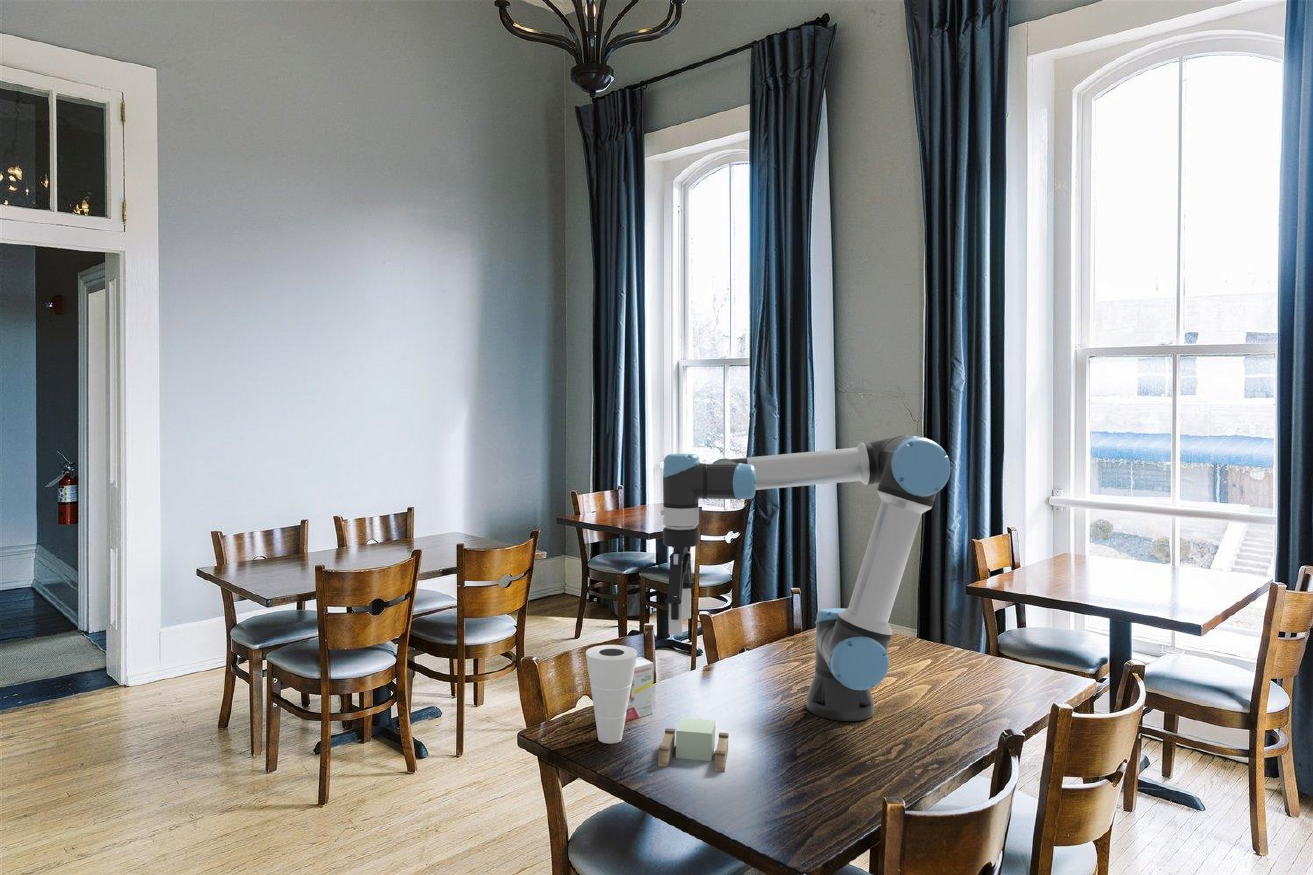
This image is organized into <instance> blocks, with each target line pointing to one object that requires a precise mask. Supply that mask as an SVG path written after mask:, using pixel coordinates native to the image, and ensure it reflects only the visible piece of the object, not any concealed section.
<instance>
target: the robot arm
mask: <svg viewBox="0 0 1313 875" xmlns="http://www.w3.org/2000/svg"><path fill="white" fill-rule="evenodd" d="M662 471H663V472H662V473H663V474H662V475H663V476H662V488H663V490H662V492H663V493H662V494H663V495H662V496H663V497H662V500H663V501H662V502H663V510H660V515H661V516H663V519H662V520H663V523H662V524H663V525H664V526H665V527H663V528H662V544H663V545H664V546H666V547H669V548H670V547H671V548H673V550H672V553H671V554H670V555H669V573H668V587H667V597H666V598H665V599H664V603H665V604H666V605H668V635H670V636H682V635H683V619H689V620H690V619H691V618H692V589H694V588H695V582H693V576H692V574H693V573H692V560H691V559H692V554H691V548H693V547H697V546H698V544H699V528H698V527H697V526H698V525H699V524H700V506H699V500H708V499H709V500H737V501H740V500H751V499H753V498H754V497H755V496H756V491H759V490H771V489H780V488H781V489H783V488H793V487H805V486H806V487H807V486H816V485H828V484H838V483H839V484H840V483H851V482H852V483H853V482H861V483H862V484H863V485H865V486H867V485H878V486H877V490H876V493H877V494H878V497H879V498H880V501H881V502H880V504H879V508H878V511H877V514H876V518H875V521H874V524H873V527H872V530H871V534H870V537H869V539H868V543H867V546H866V549H865V553H864V556H863V559H862V562H861V565H860V569H859V571H858V575H857V578H856V581H855V584H854V587H853V592H852V595H851V598H850V601H849V604H848V607H847V608H838V607H837V608H836V607H835V608H834V607H833V608H832V607H831V608H821V609H820V610H818V612H817V613H816V621H815V622H814V623H815V625H816V626H815V627H816V628H815V656H814V657H815V664H814V665H815V666H814V675H813V677H812V680H811V683H810V686H809V689H808V691H807V695H806V701H805V702H806V704H805V706H806V709H807V710H808V711H809V712H810V713H811V714H813V715H816V716H818V717H820V718H824V719H828V720H831V721H832V720H833V721H839V722H840V721H842V722H857V721H863V720H868V719H869V718H871V717H872V716H874V714H875V702H874V697H873V695H872V691H871V689H873V688H874V687H877V686H878V685H879V684H880V683H882V682H883V681H884V679H885V678H886V676H887V675H888V672H889V668H890V660H889V655H888V649H889V645H890V643H891V638H892V636H893V629H892V628H891V625H890V624H889V619H890V617H891V615H892V612H893V611H892V610H893V608H894V604H895V601H896V597H897V595H898V591H899V587H900V585H901V582H902V579H903V577H904V576H903V575H904V572H905V570H906V566H907V563H908V560H909V557H910V553H911V549H912V546H913V543H914V541H915V537H916V534H917V531H918V528H919V524H920V521H921V518H922V516H923V515H922V514H924V513H926V512H928V511H930V510H931V509H932V508H933V506H934V502H935V499H936V497H937V493H938V492H940V491H941V490H942V489H943V488H945V486H946V484H947V483H948V481H949V479H950V476H951V462H950V458H949V456H948V454H947V452H946V451H945V450H944V448H943V447H942V446H941V445H939V444H938V443H937V442H935V441H934V440H932V439H929V438H927V437H922V436H918V435H917V436H913V435H912V436H911V435H897V436H892V437H888V438H883V439H878V440H874V441H873V440H872V441H864V442H860V443H859V444H857V446H856V447H849V448H847V447H846V448H837V449H835V448H834V449H828V450H827V449H825V450H815V451H805V452H796V453H795V452H793V453H792V452H791V453H782V454H771V455H760V456H753V457H751V456H749V457H743V458H742V457H741V458H740V457H739V458H727V457H726V458H719V459H717V460H715V461H713V462H712V463H703V462H700V458H699V455H698V454H695V453H670V454H666V455H665V457H664V459H663V470H662Z"/></svg>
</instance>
